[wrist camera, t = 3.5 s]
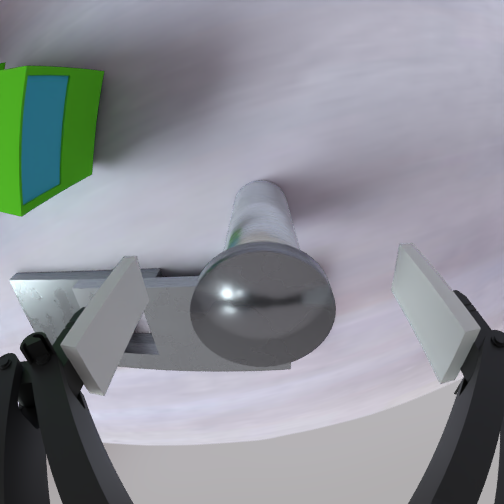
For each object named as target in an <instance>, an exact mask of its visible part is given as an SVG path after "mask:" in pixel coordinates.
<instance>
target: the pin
mask: <svg viewBox="0 0 504 504" xmlns="http://www.w3.org/2000/svg"><path fill="white" fill-rule="evenodd" d="M335 311H336V306H335V300H334V296H333V293H332V290H331V287H330V284H329V282H328V279H327V277H326V275H325V273H324V271H323V269H322V268H321V267H320V265H319V264H318V263H317V262H316V261H315V260H314V259H313V258H311V257H310V256H309V255H307V254H306V253H304V252H303V251H301V250H300V248H299V244H298V240H297V236H296V233H295V229H294V225H293V222H292V218H291V214H290V211H289V207H288V204H287V200H286V197H285V195H284V193H283V191H282V190H281V189H280V188H279V187H278V186H277V185H275V184H273V183H271V182H269V181H263V180H258V181H253V182H250V183H248V184H246V185H245V186H243V187H242V188H241V189H240V190H239V192H238V193H237V195H236V198H235V201H234V206H233V210H232V214H231V219H230V223H229V228H228V232H227V237H226V241H225V246H224V250H223V252H222V253H220V254H219V255H217V256H216V257H215V258H213V259H212V260H211V261H210V262H209V263H208V264H207V265H206V267H205V268H204V269H203V270H202V272H201V274H200V276H199V277H198V280H197V283H196V286H195V289H194V292H193V296H192V299H191V304H190V318H191V323H192V326H193V329H194V331H195V332H196V334H197V336H198V337H199V339H200V340H201V341H202V342H203V344H204V345H205V346H206V347H207V348H209V349H210V350H211V351H212V352H214V353H215V354H217V355H218V356H220V357H222V358H224V359H226V360H229V361H231V362H234V363H237V364H241V365H246V366H254V367H270V366H278V365H283V364H286V363H290V362H293V361H295V360H298V359H300V358H302V357H304V356H306V355H307V354H309V353H310V352H312V351H313V350H314V349H316V348H317V347H318V346H319V345H320V344H321V343H322V342H323V341H324V340H325V338H326V337H327V336H328V334H329V332H330V330H331V328H332V326H333V323H334V319H335Z"/></svg>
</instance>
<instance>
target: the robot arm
mask: <svg viewBox="0 0 504 504" xmlns="http://www.w3.org/2000/svg"><path fill="white" fill-rule="evenodd" d="M391 291H392V292H393V294H394V296H395V298H396V299H397V301H398V303H399V305H400V306H401V308H402V310H403V312H404V314H405V316H406V317H407V319H408V321H409V323H410V325H411V327H412V328H413V330H414V332H415V334H416V336H417V338H418V340H419V342H420V344H421V346H422V348H423V350H424V352H425V354H426V356H427V358H428V360H429V362H430V364H431V366H432V368H433V370H434V372H435V374H436V376H437V379H438V381H439V383H440V384H442V383H445V382H449V381H453V380H455V379H456V377H457V375H458V373H459V372H460V370H461V371H462V373H463V375H464V378H463V379H462V381H461V383H460V384H459V386H458V388H457V390H456V391H455V393H454V394H457V397H456V399H455V402H454V405H453V408H452V411H451V414H450V416H449V419H448V422H447V424H446V427H445V429H444V432H443V434H442V437H441V439H440V442H439V444H438V446H437V448H436V451H435V453H434V455H433V457H432V460H431V461H430V464H429V466H428V468H427V470H426V472H425V474H424V476H423V478H422V480H421V481H420V483H419V485H418V487H417V489H416V491H415V492H414V494H413V496H412V498H411V499H410V502H409V503H408V504H477V502H478V500H479V497H480V494H481V492H482V489H483V487H484V484H485V481H486V478H487V475H488V472H489V469H490V466H491V463H492V459H493V456H494V453H495V449H496V445H497V441H498V437H499V433H500V457H499V471H498V481H497V489H496V496H495V503H494V504H504V333H503V332H501V331H498V330H491V329H490V327H489V326H488V325H487V323H486V322H485V321H484V319H483V318H482V317H481V315H480V314H479V313H478V311H476V309H475V307H474V306H473V305H471V302H470V301H469V300H468V299H467V297H466V296H465V295H463V294H462V293H460V292H459V291H457V290H454V291H452V289H451V288H450V287H449V286H448V284H447V283H446V282H445V281H444V279H443V278H442V277H441V276H440V275H439V273H438V272H437V271H436V270H435V269H434V267H433V266H432V265H431V264H430V263H429V262H428V260H427V259H426V258H425V257H424V256H423V255H422V254H421V252H420V251H419V250H418V249H417V248H416V247H415V246H414V245H413V244H412V243H405V244H399V248H398V255H397V261H396V266H395V272H394V277H393V283H392V288H391ZM148 302H149V298H148V295H147V291H146V288H145V284H144V281H143V277H142V274H141V270H140V266H139V263H138V259H137V256H126V257H123V258H122V260H121V261H120V262H119V263H118V265H117V266H116V267H115V269H114V270H113V271H112V272H111V274H110V275H109V276H108V278H107V279H106V280H105V282H104V283H103V284H102V286H101V287H100V288H99V290H98V291H97V292H96V294H95V295H94V296H93V298H92V299H91V301H90V302H89V303H88V305H87V306H86V307H82V308H81V309H80V310H78V311H77V312H76V313H75V314H74V315H73V316H72V318H71V319H70V320H69V323H67V325H66V326H65V329H63V330H62V332H61V333H60V335H59V336H58V338H57V339H56V341H55V342H54V344H53V345H51V343H50V341H49V339H48V337H47V336H46V334H45V333H43V332H36V333H32V334H31V335H29V336H27V337H26V338H25V339H24V340H23V342H22V343H21V346H20V350H21V352H22V353H23V355H24V356H25V358H26V359H27V361H23V362H20V361H19V360H18V358H17V356H16V355H15V354H13V353H8V354H5V355H3V356H1V357H0V504H50V499H49V490H48V480H47V465H46V454H47V458H48V461H49V465H50V468H51V471H52V475H53V477H54V481H55V484H56V487H57V489H58V492H59V495H60V498H61V500H62V503H63V504H133V502H132V500H131V499H130V497H129V495H128V493H127V491H126V490H125V488H124V486H123V484H122V482H121V481H120V479H119V477H118V475H117V473H116V471H115V469H114V467H113V465H112V463H111V461H110V459H109V457H108V454H107V452H106V450H105V448H104V446H103V443H102V441H101V439H100V436H99V434H98V432H97V429H96V427H95V424H94V422H93V419H92V417H91V414H90V412H89V409H88V406H87V403H86V401H85V398H84V395H83V394H82V392H81V391H80V390H81V388H82V386H83V384H84V385H85V387H86V388H87V390H88V391H89V393H92V394H97V395H103V396H105V394H106V392H107V389H108V387H109V385H110V382H111V380H112V378H113V376H114V373H115V371H116V369H117V367H118V364H119V362H120V360H121V358H122V356H123V354H124V351H125V349H126V347H127V345H128V343H129V341H130V339H131V336H132V334H133V332H134V330H135V328H136V326H137V324H138V322H139V320H140V318H141V316H142V314H143V312H144V310H145V308H146V306H147V304H148ZM457 392H458V393H457ZM18 402H19V407H18Z"/></svg>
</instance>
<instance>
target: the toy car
mask: <svg viewBox="0 0 504 504" xmlns="http://www.w3.org/2000/svg"><path fill="white" fill-rule="evenodd" d="M5 63H6V62H5ZM5 63H0V212H4V213H8V214H13V215H17V216H21V217H22V216H23V215H25V214H26V213H28V212H29V211H31V210H32V209H34V208H36V207H37V206H39V205H40V204H42V203H43V202H45V201H47V200H48V199H50V198H52V197H53V196H55V195H56V194H58V193H60V192H62V191H63V190H65V189H67V188H68V187H70V186H72V185H74V184H75V183H77V182H79V181H81V180H83V179H84V178H86V177H88V176H90V175H92V168H93V153H94V141H95V131H96V122H97V114H98V106H99V100H100V93H101V87H102V81H103V76H104V71H99V70H90V69H80V68H68V67H51V66H22V67H16V68H10V69H5ZM4 69H5V70H4Z"/></svg>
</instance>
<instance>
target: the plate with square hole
mask: <svg viewBox="0 0 504 504" xmlns="http://www.w3.org/2000/svg"><path fill="white" fill-rule="evenodd" d="M140 270H141V274H142V277H143V281H144V284H145V288H146V291H147V295H148V298H149V302H148V304H147V306H146V308H145V310H144V313H145V316H146V319H147V322H148V325H149V328H150V331H151V333H152V334H147V333H133V334H132V336H131V339H130V341H129V343H128V345H127V347H126V349H125V351H124V354H123V356H122V358H121V360H120V362H119V364H118V366H119V367H130V368H142V369H156V370H175V371H266V370H285V369H291V362H290V363H286V364H283V365H278V366H270V367H254V366H246V365H241V364H237V363H234V362H231V361H229V360H226V359H224V358H222V357H220V356H218V355H217V354H215V353H214V352H212V351H211V350H210V349H209V348H207V347H206V346H205V345H204V344H203V342H202V341H201V340H200V339H199V337H198V336H197V334H196V332H195V331H194V329H193V326H192V323H191V318H190V304H191V299H192V296H193V292H194V289H195V286H196V283H197V280H198V277H199V276H184V277H162V274H161V270H160V268H155V269H140ZM112 271H113V270H104V271H75V272H43V273H16V274H15V275H14V276H13V277H12V278H11V279H10V283H11V285H12V287H13V289H14V292H15V294H16V296H17V298H18V300H19V302H20V304H21V306H22V308H23V310H24V312H25V314H26V316H27V318H28V320H29V322H30V324H31V326H32V328H33V330H34V331H35V333H36V332H43V333H45V334H46V336H47V337H48V339H49V341H50V343H51V345H53V344H54V342H55V341H56V339H57V338H58V336H59V335H60V333H61V332H62V330H63V329H65V326H66V325H67V323H69V320H70V319H71V318H72V316H73V315H74V314H75V313H76V312H77V311H78V310H80V309H81V308H82V307H86V306H87V305H88V303H89V302H90V301H91V299H92V298H93V296H94V295H95V294H96V292H97V291H98V290H99V288H100V287H101V286H102V284H103V283H104V282H105V280H106V279H107V278H108V276H109V275H110V274H111V272H112Z"/></svg>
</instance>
